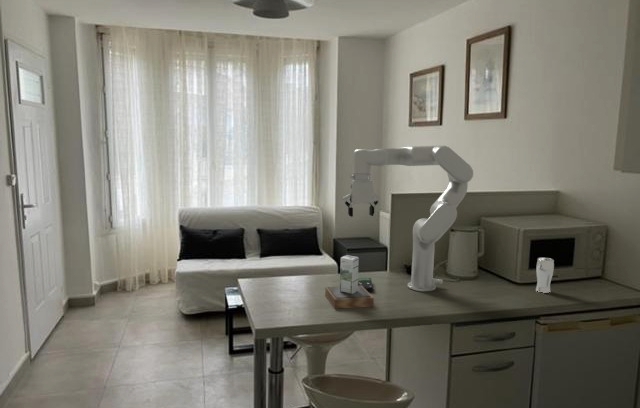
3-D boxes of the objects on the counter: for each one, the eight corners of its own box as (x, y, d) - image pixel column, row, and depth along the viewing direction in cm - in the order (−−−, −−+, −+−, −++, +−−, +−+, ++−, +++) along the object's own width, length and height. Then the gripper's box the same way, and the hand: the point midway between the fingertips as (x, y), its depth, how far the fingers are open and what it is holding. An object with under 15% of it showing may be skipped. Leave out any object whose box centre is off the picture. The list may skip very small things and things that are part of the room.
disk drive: (373, 293, 205) (370, 283, 220) (373, 287, 205) (370, 277, 220) (349, 293, 206) (348, 282, 220) (349, 286, 205) (348, 276, 220)
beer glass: (536, 293, 210) (539, 260, 208) (533, 288, 217) (535, 256, 215) (553, 294, 208) (556, 261, 207) (549, 290, 215) (552, 257, 213)
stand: (361, 293, 203) (361, 284, 202) (373, 306, 187) (373, 296, 187) (325, 295, 199) (325, 286, 199) (334, 308, 184) (334, 298, 183)
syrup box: (358, 290, 194) (359, 256, 192) (351, 294, 189) (352, 259, 187) (345, 288, 197) (346, 254, 195) (339, 292, 192) (340, 257, 190)
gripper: (345, 178, 202) (345, 217, 204) (383, 177, 206) (382, 216, 208) (340, 177, 209) (340, 215, 211) (377, 176, 213) (376, 214, 215)
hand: (361, 215), depth 210 cm, fingers open, 9 cm apart
